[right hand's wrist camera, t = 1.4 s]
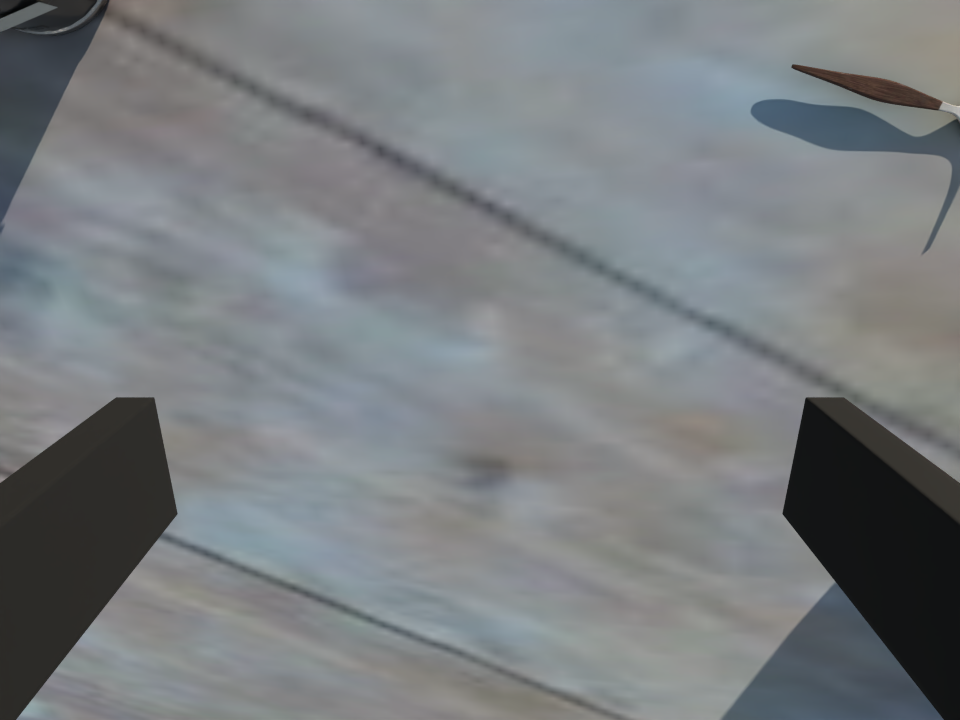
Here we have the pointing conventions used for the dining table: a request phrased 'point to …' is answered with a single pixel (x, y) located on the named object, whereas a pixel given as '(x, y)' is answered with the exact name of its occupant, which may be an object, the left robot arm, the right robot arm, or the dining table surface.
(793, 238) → the dining table surface
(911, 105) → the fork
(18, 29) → the left robot arm
